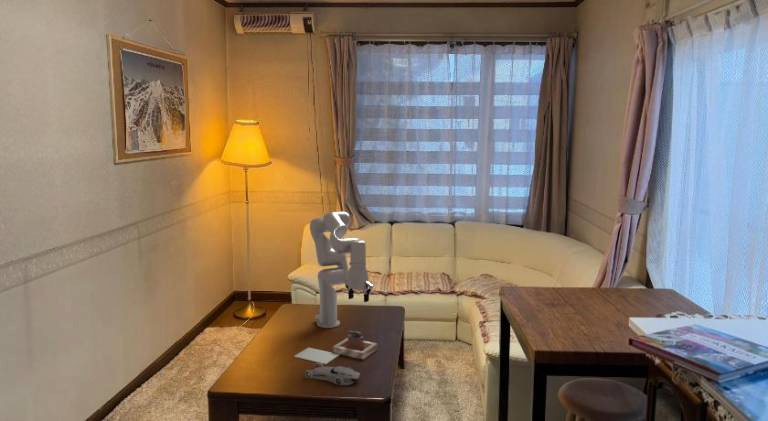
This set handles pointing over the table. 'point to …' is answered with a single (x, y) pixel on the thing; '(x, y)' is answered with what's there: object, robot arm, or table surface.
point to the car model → (333, 374)
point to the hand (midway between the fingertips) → (358, 300)
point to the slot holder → (342, 350)
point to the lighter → (355, 341)
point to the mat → (317, 355)
